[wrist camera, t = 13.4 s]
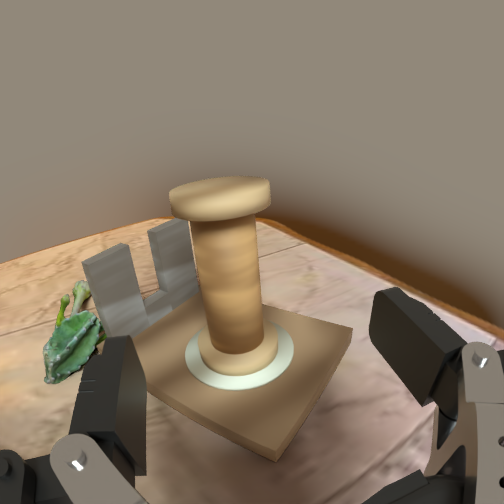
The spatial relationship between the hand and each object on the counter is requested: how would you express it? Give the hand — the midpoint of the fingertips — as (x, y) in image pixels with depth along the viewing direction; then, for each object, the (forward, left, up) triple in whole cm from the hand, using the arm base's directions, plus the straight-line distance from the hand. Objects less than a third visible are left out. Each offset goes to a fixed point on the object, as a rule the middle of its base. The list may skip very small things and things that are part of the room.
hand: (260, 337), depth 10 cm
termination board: (-10, +8, -12) cm, 17 cm away
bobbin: (-8, +8, -10) cm, 15 cm away
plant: (-26, +5, -13) cm, 29 cm away
